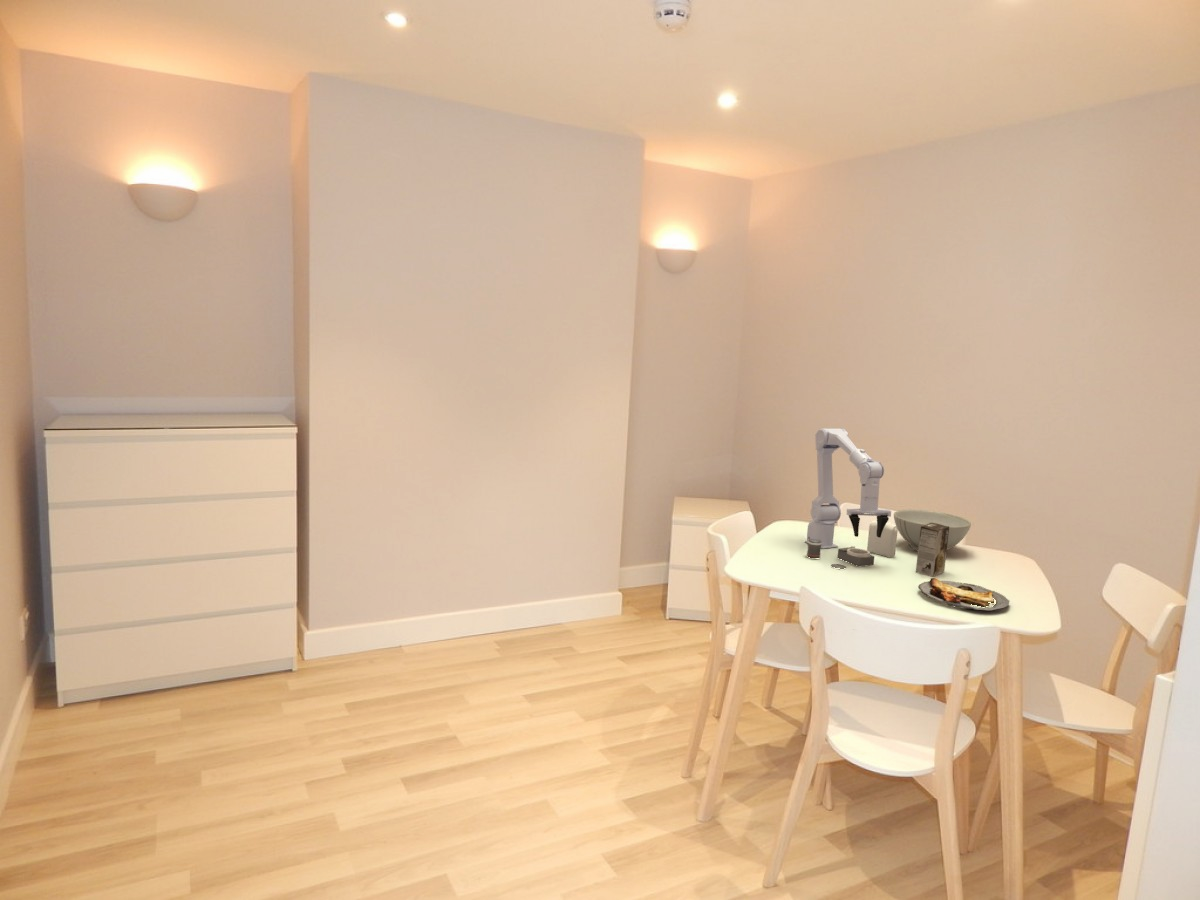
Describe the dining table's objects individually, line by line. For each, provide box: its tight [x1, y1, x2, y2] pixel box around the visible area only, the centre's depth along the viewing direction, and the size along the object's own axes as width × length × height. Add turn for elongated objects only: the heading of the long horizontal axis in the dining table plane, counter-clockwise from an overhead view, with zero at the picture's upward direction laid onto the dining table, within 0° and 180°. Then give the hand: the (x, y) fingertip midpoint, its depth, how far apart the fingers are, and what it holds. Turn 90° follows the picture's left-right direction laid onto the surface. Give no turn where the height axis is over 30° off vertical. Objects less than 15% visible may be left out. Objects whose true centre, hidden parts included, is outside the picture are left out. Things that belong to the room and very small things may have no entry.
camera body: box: [836, 545, 875, 567], centre depth 270 cm, size 10×8×4 cm
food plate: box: [917, 577, 1010, 611], centre depth 235 cm, size 25×23×4 cm
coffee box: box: [915, 523, 949, 578], centre depth 261 cm, size 9×6×16 cm
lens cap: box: [830, 563, 847, 570], centre depth 262 cm, size 5×5×1 cm
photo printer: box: [866, 519, 899, 558], centre depth 280 cm, size 10×4×12 cm, turn 39°
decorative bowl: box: [893, 509, 972, 551], centre depth 291 cm, size 27×27×12 cm
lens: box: [806, 539, 822, 559], centre depth 272 cm, size 4×4×6 cm
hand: (867, 536), depth 265 cm, fingers open, 7 cm apart
